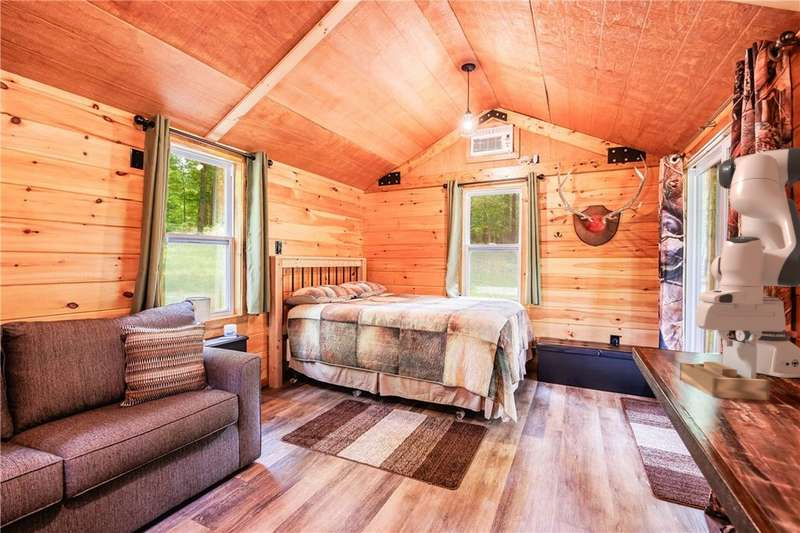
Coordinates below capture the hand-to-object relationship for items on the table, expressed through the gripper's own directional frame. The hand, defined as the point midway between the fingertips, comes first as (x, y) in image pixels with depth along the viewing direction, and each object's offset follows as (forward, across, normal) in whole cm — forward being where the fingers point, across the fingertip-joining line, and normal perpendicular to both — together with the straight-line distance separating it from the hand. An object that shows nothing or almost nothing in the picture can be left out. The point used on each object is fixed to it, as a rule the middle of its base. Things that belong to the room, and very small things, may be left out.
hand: (738, 346), depth 101 cm
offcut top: (+8, +5, 0) cm, 9 cm away
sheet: (+12, 0, 0) cm, 12 cm away
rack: (+13, +4, 0) cm, 13 cm away
